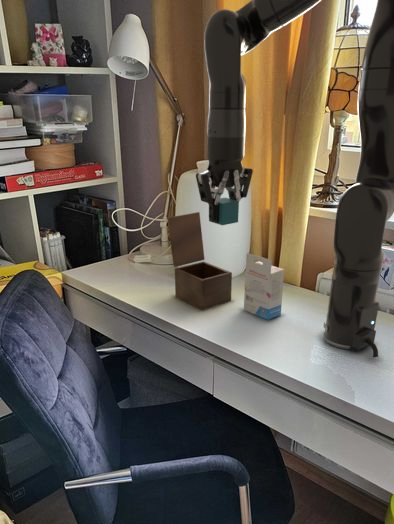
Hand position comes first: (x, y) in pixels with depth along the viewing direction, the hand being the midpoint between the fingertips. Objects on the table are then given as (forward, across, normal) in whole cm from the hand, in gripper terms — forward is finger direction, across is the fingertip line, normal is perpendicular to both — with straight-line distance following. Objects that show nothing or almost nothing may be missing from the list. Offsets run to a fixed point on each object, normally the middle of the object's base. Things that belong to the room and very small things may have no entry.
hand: (223, 220), depth 103 cm
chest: (+24, +5, +13) cm, 27 cm away
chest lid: (+9, +5, +19) cm, 22 cm away
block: (0, 0, 0) cm, 0 cm away
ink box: (+24, +11, -3) cm, 26 cm away
